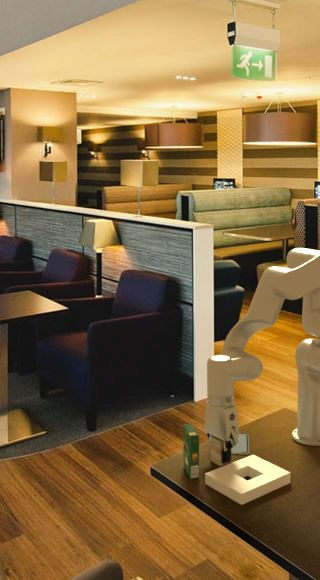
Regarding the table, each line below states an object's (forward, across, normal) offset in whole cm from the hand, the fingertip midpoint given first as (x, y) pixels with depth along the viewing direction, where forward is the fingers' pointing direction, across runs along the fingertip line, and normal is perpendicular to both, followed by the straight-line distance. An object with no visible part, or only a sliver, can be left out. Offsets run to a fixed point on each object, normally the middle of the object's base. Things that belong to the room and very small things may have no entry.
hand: (220, 458), depth 181 cm
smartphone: (+2, +6, -12) cm, 14 cm away
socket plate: (+1, -14, +3) cm, 14 cm away
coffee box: (+1, 0, +11) cm, 11 cm away
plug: (+1, 0, 0) cm, 1 cm away
